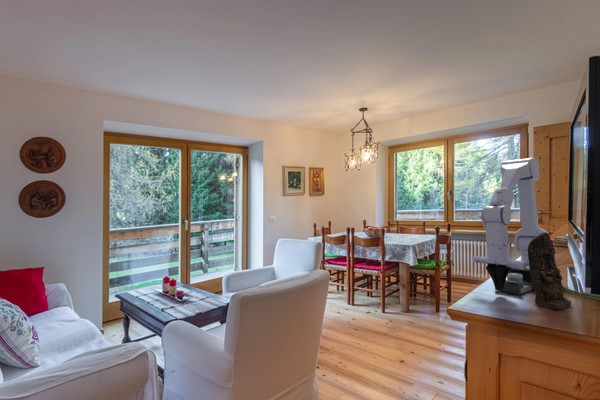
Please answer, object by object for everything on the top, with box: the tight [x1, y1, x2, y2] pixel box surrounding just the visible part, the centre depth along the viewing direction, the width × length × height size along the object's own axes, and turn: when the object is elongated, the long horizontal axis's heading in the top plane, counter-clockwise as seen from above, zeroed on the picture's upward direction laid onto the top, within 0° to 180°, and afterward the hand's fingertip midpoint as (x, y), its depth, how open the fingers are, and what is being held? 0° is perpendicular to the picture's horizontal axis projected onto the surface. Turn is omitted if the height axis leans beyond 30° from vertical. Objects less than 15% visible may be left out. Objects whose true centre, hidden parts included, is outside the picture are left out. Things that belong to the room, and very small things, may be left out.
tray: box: [494, 279, 534, 295], centre depth 101 cm, size 11×7×4 cm, turn 121°
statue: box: [528, 232, 572, 311], centre depth 86 cm, size 7×7×20 cm
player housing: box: [506, 264, 532, 283], centre depth 105 cm, size 9×9×6 cm
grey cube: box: [508, 273, 523, 287], centre depth 101 cm, size 4×4×4 cm
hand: (499, 289), depth 96 cm, fingers closed
